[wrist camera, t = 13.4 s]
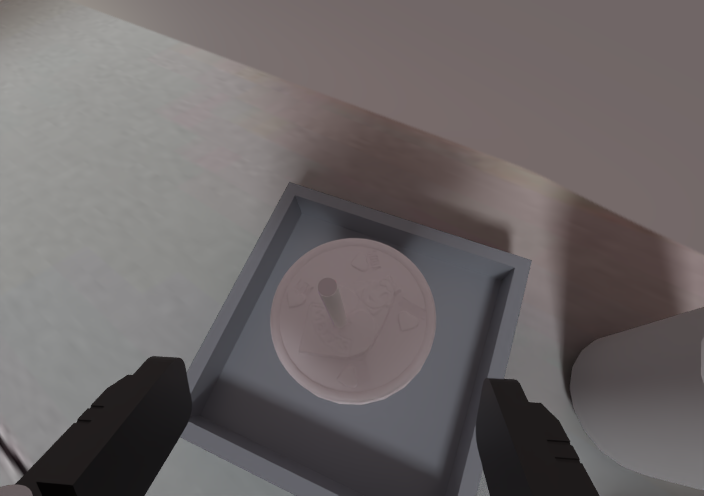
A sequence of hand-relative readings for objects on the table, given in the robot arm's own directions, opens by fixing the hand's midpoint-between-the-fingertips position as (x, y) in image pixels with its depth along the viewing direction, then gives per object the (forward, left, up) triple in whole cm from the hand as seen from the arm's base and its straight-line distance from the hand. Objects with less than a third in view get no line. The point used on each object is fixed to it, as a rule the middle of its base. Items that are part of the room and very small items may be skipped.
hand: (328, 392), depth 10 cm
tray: (-1, +3, -14) cm, 14 cm away
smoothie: (-1, +3, -13) cm, 13 cm away
